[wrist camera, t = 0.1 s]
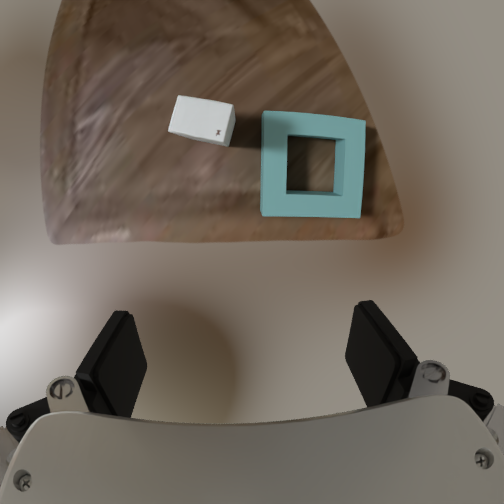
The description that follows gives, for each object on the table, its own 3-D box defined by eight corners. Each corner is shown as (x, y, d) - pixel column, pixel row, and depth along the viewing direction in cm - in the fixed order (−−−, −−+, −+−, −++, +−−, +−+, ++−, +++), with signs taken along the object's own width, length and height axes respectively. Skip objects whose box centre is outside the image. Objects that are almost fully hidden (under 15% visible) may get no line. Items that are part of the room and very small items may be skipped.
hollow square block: (261, 114, 36) (264, 110, 32) (354, 123, 37) (365, 120, 33) (260, 210, 41) (262, 216, 37) (349, 212, 41) (360, 218, 38)
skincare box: (236, 118, 36) (235, 104, 25) (228, 147, 37) (224, 144, 26) (194, 110, 35) (177, 93, 24) (187, 138, 36) (166, 133, 25)
